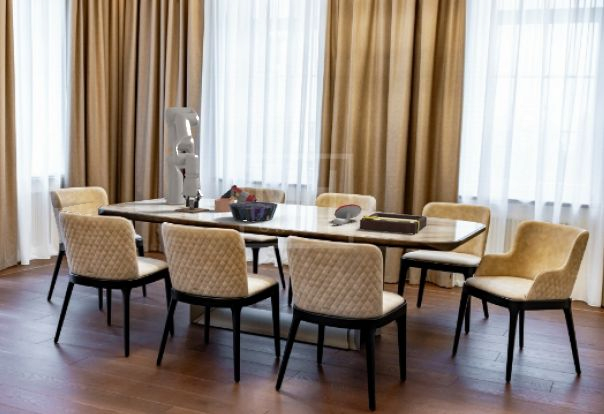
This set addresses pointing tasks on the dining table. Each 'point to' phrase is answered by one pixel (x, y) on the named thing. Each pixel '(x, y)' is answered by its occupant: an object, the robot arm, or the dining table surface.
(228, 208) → the terracotta pot
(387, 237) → the dining table surface
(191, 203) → the walnut lid
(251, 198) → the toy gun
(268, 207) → the decorative bowl
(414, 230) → the dark brown open box
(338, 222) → the mushroom
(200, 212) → the charcoal tray
